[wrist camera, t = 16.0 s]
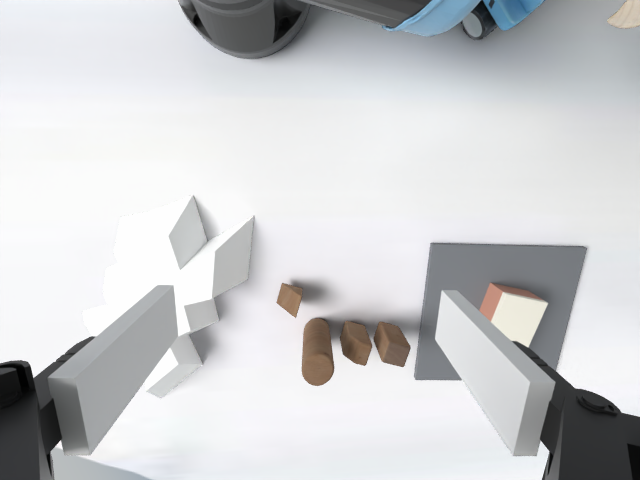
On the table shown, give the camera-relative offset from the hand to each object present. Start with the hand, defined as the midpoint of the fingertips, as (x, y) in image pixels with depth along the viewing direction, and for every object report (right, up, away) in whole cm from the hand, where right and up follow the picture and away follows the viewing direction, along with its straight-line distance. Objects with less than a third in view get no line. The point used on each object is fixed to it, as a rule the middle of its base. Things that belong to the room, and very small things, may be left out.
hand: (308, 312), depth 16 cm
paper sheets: (-22, -4, +31) cm, 38 cm away
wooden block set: (+3, -9, +32) cm, 33 cm away
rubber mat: (+27, -8, +32) cm, 43 cm away
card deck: (+27, -8, +32) cm, 42 cm away
